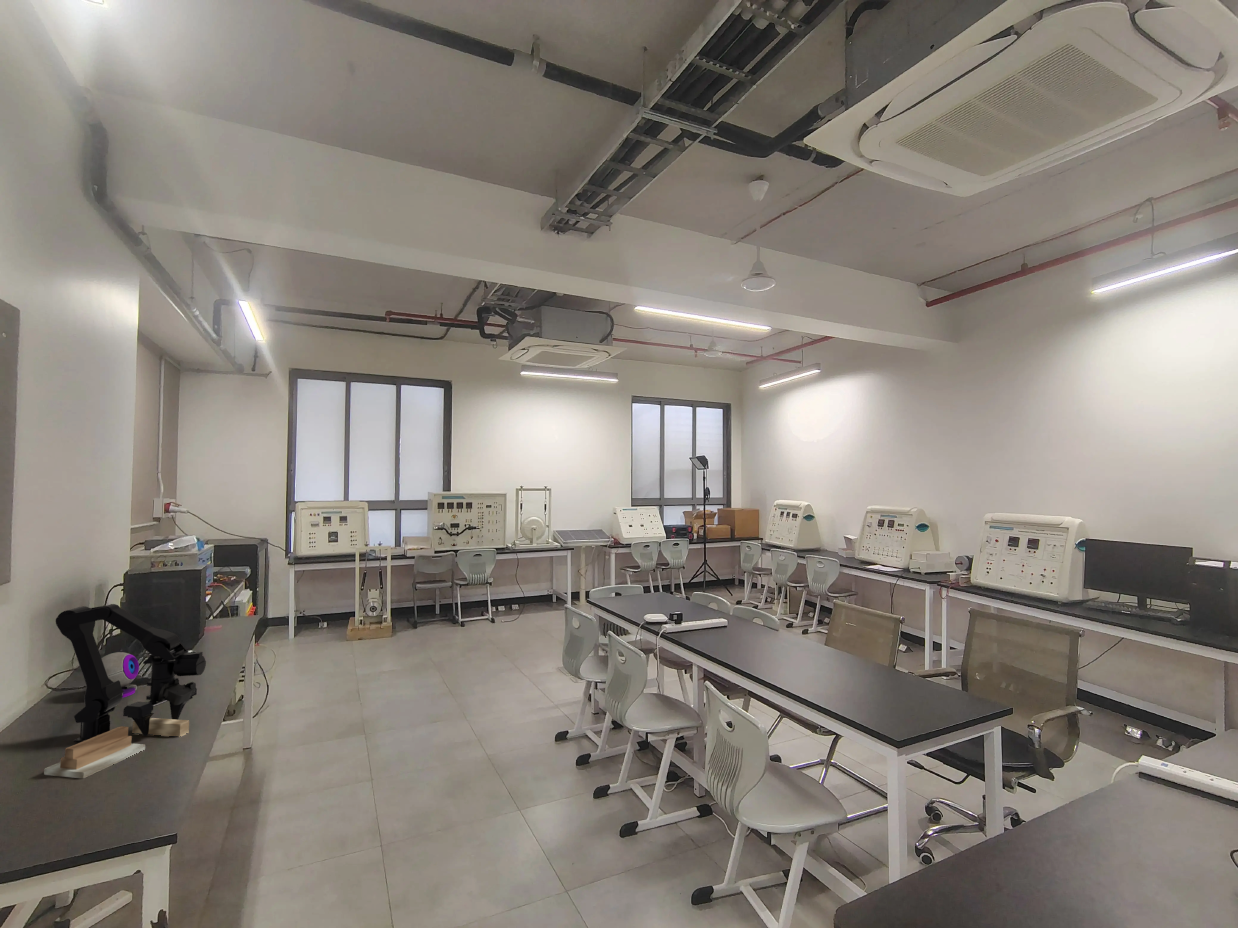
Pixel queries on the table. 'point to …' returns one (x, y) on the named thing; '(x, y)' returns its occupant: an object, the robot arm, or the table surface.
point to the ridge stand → (95, 754)
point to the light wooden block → (165, 727)
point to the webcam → (122, 670)
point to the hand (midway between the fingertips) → (160, 728)
